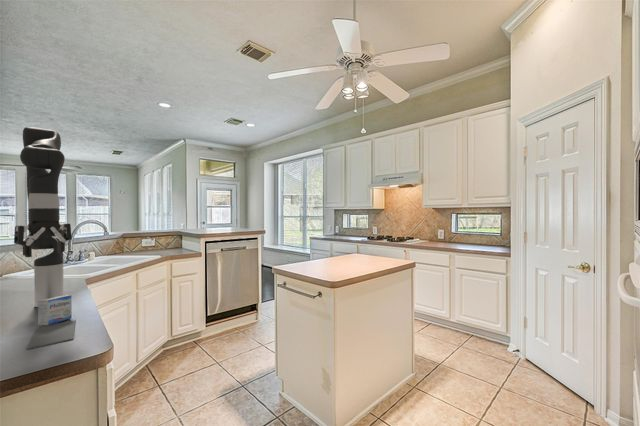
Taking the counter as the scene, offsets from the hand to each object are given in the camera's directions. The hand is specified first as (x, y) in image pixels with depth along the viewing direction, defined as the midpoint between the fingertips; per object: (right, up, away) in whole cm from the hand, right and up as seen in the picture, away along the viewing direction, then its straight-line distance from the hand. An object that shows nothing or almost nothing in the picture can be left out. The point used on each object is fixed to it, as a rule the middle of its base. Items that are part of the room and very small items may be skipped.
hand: (44, 255), depth 95 cm
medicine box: (-2, -25, +6) cm, 26 cm away
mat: (+7, -25, -4) cm, 26 cm away
